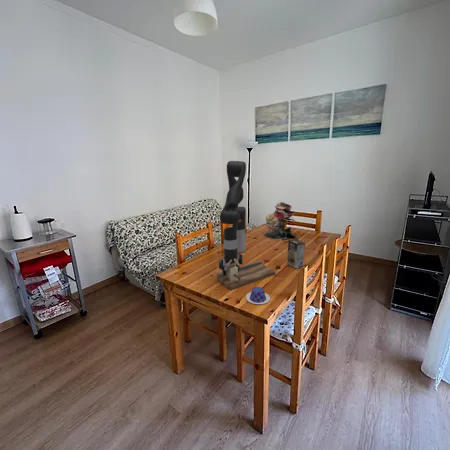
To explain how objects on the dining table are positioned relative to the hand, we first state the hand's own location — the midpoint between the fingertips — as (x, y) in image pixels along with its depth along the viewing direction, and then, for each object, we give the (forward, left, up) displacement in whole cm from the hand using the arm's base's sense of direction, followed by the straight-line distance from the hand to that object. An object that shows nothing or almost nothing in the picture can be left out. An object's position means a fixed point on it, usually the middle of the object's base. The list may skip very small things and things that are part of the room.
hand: (231, 273), depth 140 cm
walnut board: (+1, +10, -5) cm, 11 cm away
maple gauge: (+2, 0, -3) cm, 3 cm away
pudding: (+22, +1, -5) cm, 23 cm away
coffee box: (+6, +45, -5) cm, 46 cm away
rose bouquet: (-43, +79, -5) cm, 91 cm away
